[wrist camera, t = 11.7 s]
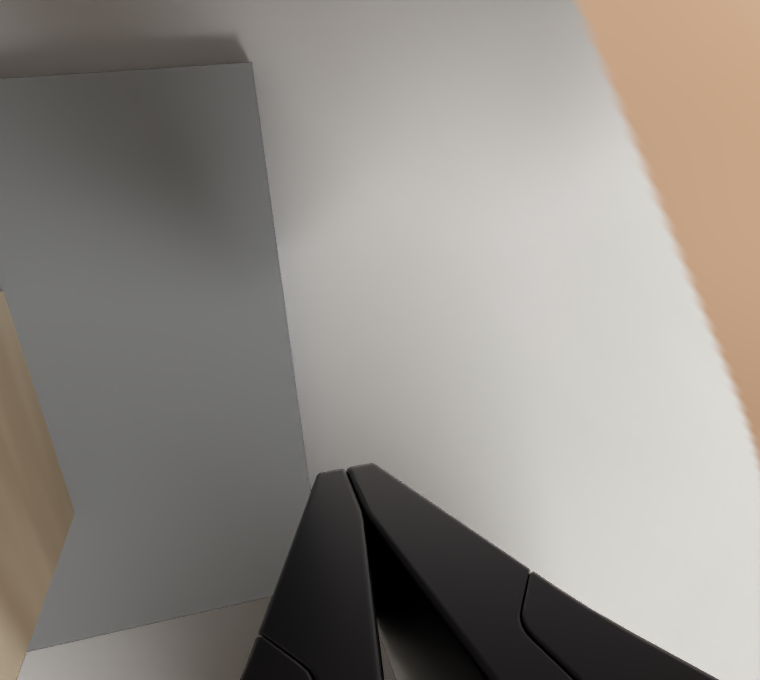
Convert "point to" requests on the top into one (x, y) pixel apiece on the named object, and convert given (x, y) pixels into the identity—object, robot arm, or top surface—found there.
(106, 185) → the mat
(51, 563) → the domino
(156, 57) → the top surface
